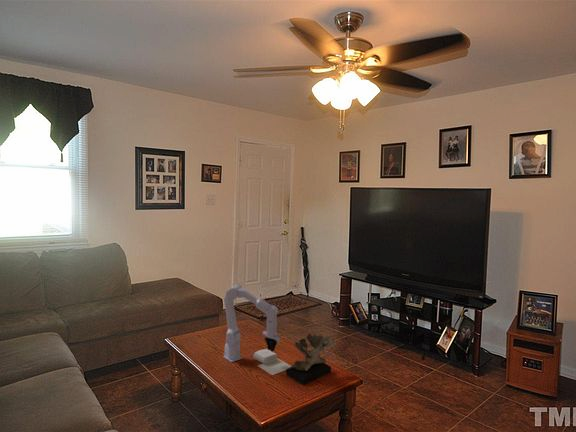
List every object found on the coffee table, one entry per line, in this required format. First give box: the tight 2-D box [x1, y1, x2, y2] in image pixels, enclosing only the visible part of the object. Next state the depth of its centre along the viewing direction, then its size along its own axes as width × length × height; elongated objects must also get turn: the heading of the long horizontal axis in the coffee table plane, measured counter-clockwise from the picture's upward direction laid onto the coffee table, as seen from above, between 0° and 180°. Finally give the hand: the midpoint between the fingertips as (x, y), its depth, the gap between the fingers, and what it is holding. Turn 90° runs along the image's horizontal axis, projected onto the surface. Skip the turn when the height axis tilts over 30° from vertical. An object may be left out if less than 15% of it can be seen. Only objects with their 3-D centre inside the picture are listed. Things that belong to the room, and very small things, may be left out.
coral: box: [285, 333, 335, 386], centre depth 207 cm, size 25×20×22 cm
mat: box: [257, 358, 293, 376], centre depth 216 cm, size 14×15×1 cm
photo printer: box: [253, 348, 279, 364], centre depth 225 cm, size 10×4×12 cm
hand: (271, 350), depth 219 cm, fingers closed
